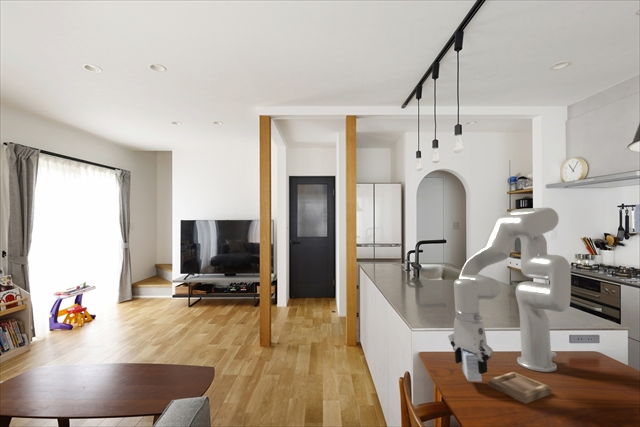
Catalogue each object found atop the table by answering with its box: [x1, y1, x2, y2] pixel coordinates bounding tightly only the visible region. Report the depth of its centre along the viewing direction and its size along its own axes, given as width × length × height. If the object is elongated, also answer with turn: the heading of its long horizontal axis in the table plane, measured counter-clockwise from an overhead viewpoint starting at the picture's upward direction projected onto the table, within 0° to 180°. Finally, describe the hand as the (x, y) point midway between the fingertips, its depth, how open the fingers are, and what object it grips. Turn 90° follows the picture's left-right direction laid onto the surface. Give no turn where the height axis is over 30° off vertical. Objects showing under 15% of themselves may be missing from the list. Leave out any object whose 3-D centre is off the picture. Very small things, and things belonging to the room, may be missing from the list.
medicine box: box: [461, 348, 483, 383], centre depth 110 cm, size 8×4×9 cm, turn 168°
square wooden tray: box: [487, 371, 552, 404], centre depth 107 cm, size 13×12×2 cm
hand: (470, 367), depth 110 cm, fingers closed on medicine box, 9 cm apart
